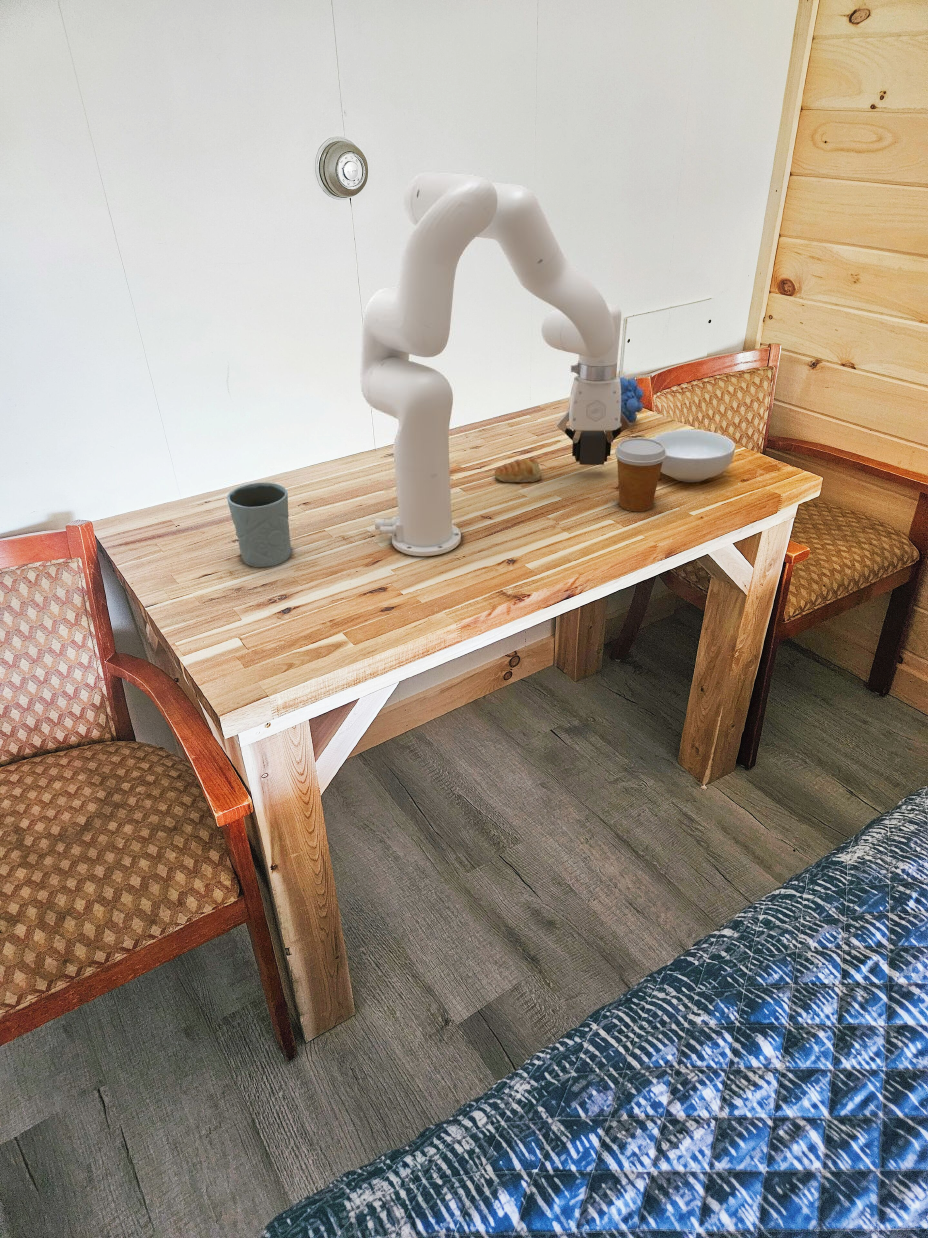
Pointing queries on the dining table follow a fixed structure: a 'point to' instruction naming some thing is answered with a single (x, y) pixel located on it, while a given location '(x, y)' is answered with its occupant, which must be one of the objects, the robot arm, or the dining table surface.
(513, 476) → the pastry
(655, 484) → the disposable coffee cup
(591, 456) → the black block
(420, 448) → the robot arm
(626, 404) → the grapes
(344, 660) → the dining table surface
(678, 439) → the cereal bowl
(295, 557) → the dining table surface
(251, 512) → the grey embossed cup
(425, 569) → the dining table surface
